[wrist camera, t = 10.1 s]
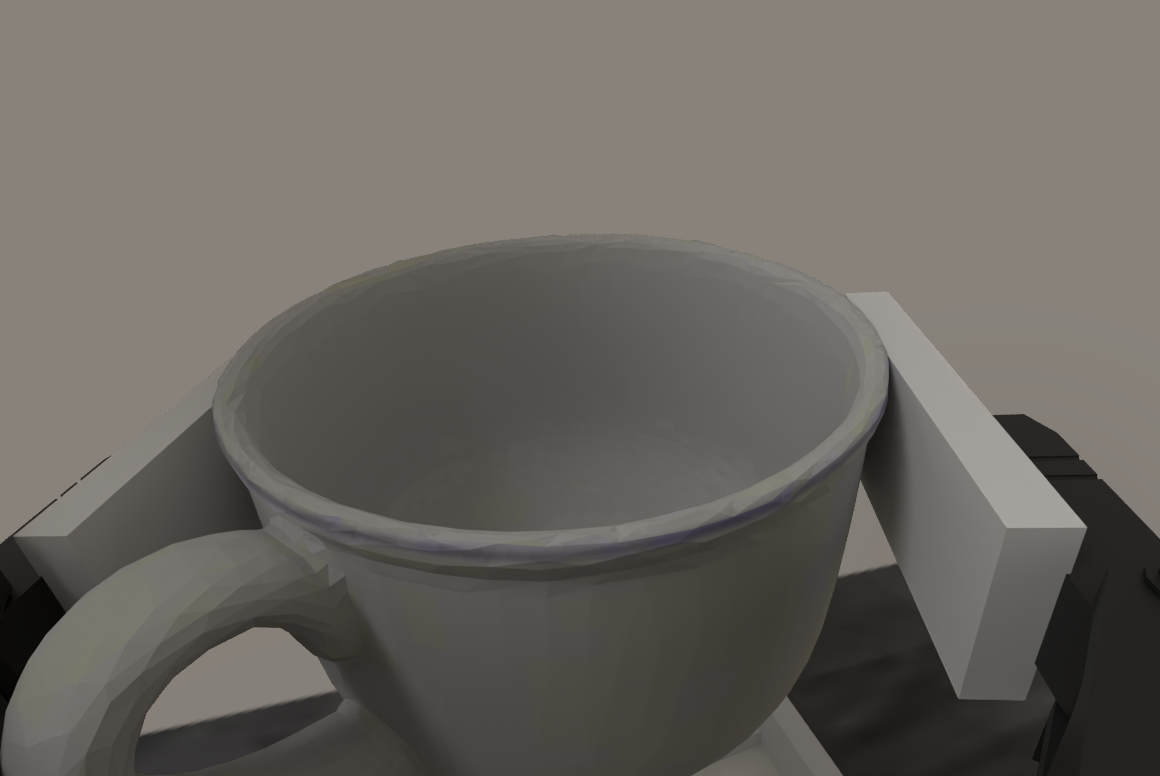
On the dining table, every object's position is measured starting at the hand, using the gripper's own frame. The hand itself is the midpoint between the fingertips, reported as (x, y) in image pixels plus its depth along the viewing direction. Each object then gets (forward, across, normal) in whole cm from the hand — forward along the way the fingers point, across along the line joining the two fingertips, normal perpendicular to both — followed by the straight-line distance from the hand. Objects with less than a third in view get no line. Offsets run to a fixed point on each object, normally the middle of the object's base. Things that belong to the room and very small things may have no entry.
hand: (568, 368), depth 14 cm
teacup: (-3, -1, -6) cm, 7 cm away
